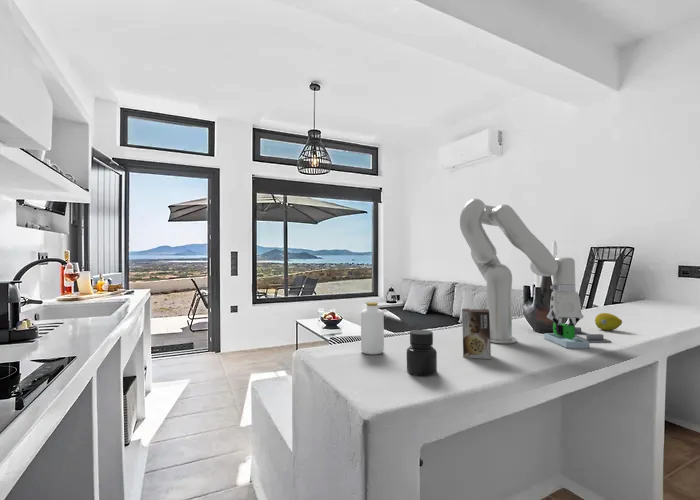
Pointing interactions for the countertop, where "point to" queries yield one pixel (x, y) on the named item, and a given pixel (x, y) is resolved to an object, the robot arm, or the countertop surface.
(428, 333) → the ink bottle
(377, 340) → the white bottle
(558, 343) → the parts tray
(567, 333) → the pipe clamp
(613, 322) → the lemon
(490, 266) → the robot arm
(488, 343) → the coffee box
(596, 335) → the rack rail
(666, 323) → the countertop surface
